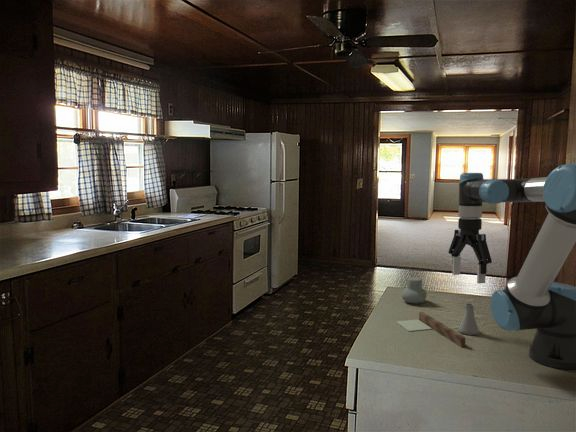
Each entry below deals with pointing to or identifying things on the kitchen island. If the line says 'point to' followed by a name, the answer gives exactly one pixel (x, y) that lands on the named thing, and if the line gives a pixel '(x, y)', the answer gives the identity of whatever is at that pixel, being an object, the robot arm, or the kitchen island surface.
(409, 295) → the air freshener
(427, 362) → the kitchen island surface
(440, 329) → the rail
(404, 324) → the board
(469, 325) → the flask
